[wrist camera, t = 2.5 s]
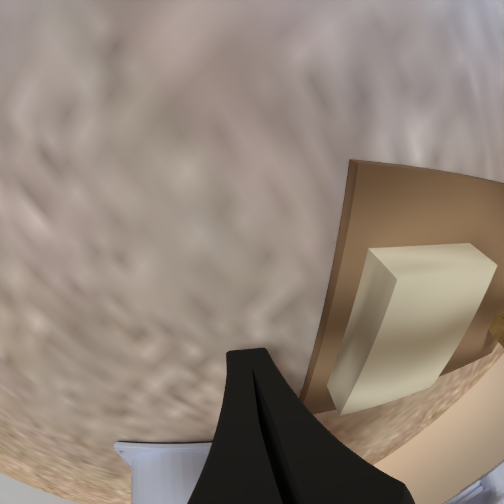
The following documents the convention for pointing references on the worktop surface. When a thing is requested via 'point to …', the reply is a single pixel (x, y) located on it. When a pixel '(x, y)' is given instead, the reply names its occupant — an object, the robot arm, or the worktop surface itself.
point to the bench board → (400, 235)
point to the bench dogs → (498, 328)
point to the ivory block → (406, 321)
